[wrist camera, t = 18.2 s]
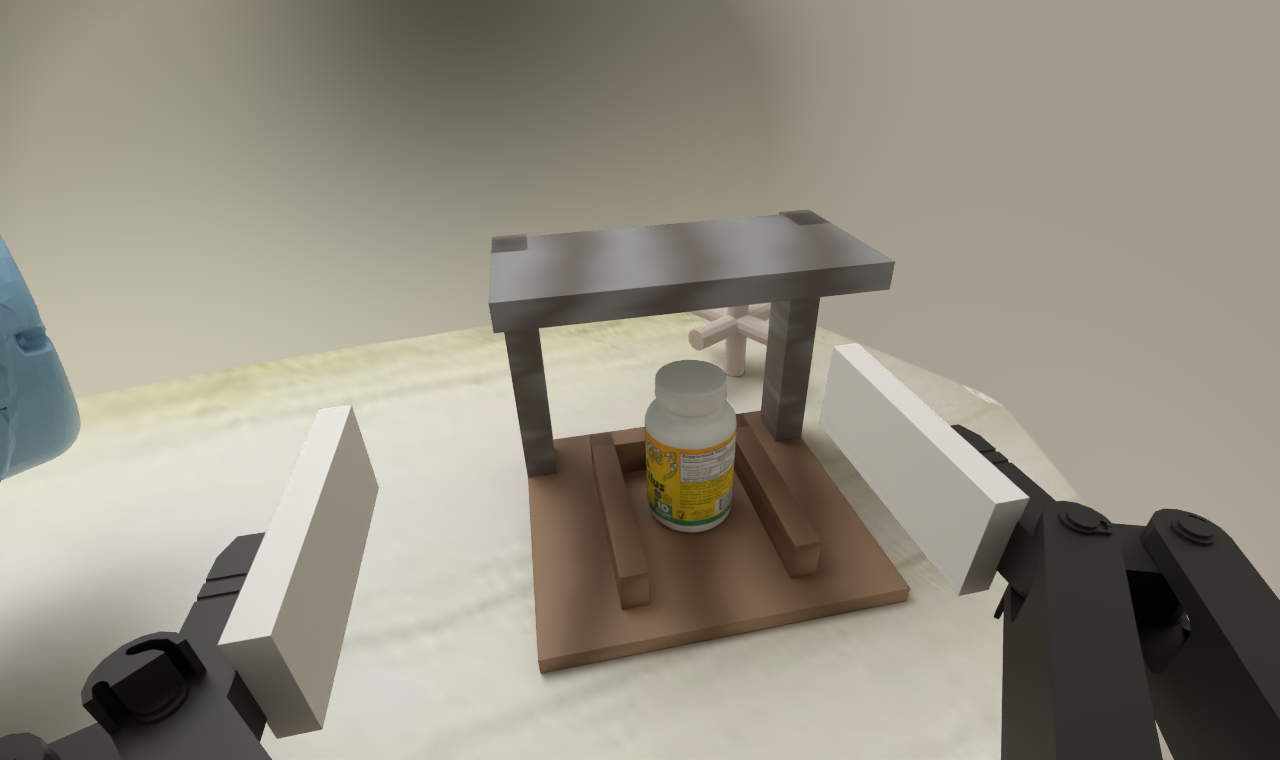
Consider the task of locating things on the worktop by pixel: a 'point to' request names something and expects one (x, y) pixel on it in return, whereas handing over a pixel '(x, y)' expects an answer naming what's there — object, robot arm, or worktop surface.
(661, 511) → the supplement bottle
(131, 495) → the worktop surface
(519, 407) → the keeper holder
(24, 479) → the worktop surface
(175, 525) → the worktop surface
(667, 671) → the worktop surface
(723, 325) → the pipe connector
